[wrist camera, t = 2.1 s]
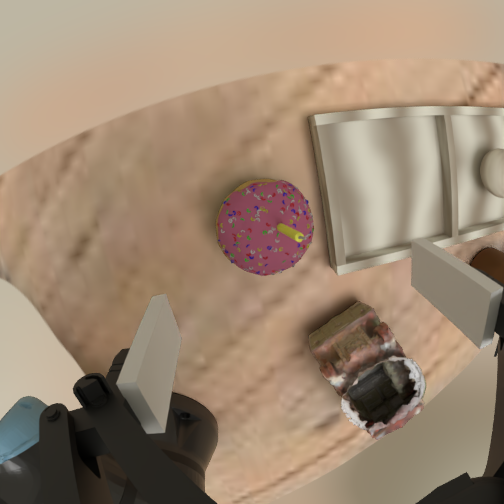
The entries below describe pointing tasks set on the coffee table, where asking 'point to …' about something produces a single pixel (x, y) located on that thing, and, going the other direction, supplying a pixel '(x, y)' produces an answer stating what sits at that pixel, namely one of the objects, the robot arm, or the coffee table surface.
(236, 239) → the cupcake
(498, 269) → the mug
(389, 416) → the decorative box
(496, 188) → the wooden egg
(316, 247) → the coffee table surface
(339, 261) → the divided tray
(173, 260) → the coffee table surface
